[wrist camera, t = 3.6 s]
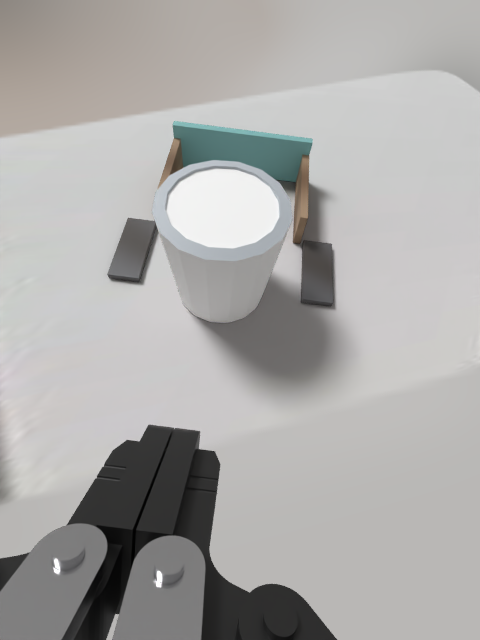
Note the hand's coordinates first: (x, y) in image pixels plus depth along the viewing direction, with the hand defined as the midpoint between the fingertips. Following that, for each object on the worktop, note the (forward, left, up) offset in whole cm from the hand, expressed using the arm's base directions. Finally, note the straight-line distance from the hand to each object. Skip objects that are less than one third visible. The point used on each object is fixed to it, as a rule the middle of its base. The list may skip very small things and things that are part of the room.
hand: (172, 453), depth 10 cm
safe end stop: (-8, +22, -8) cm, 24 cm away
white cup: (-4, +11, -8) cm, 14 cm away
